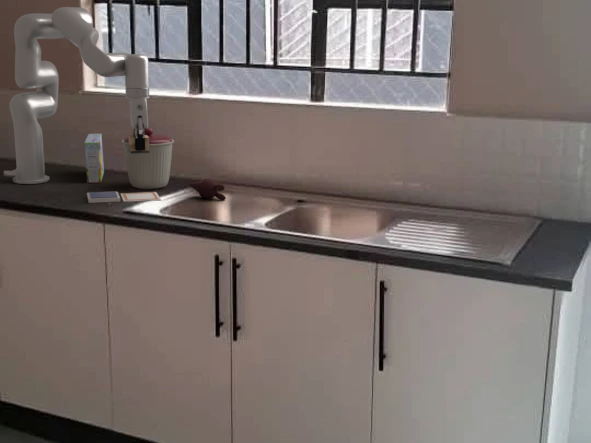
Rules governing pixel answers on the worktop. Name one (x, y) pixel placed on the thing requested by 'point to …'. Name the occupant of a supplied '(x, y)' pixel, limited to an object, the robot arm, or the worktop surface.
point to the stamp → (132, 144)
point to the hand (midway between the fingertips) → (139, 148)
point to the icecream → (208, 189)
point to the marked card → (139, 196)
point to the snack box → (94, 158)
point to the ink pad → (103, 197)
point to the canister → (150, 162)
